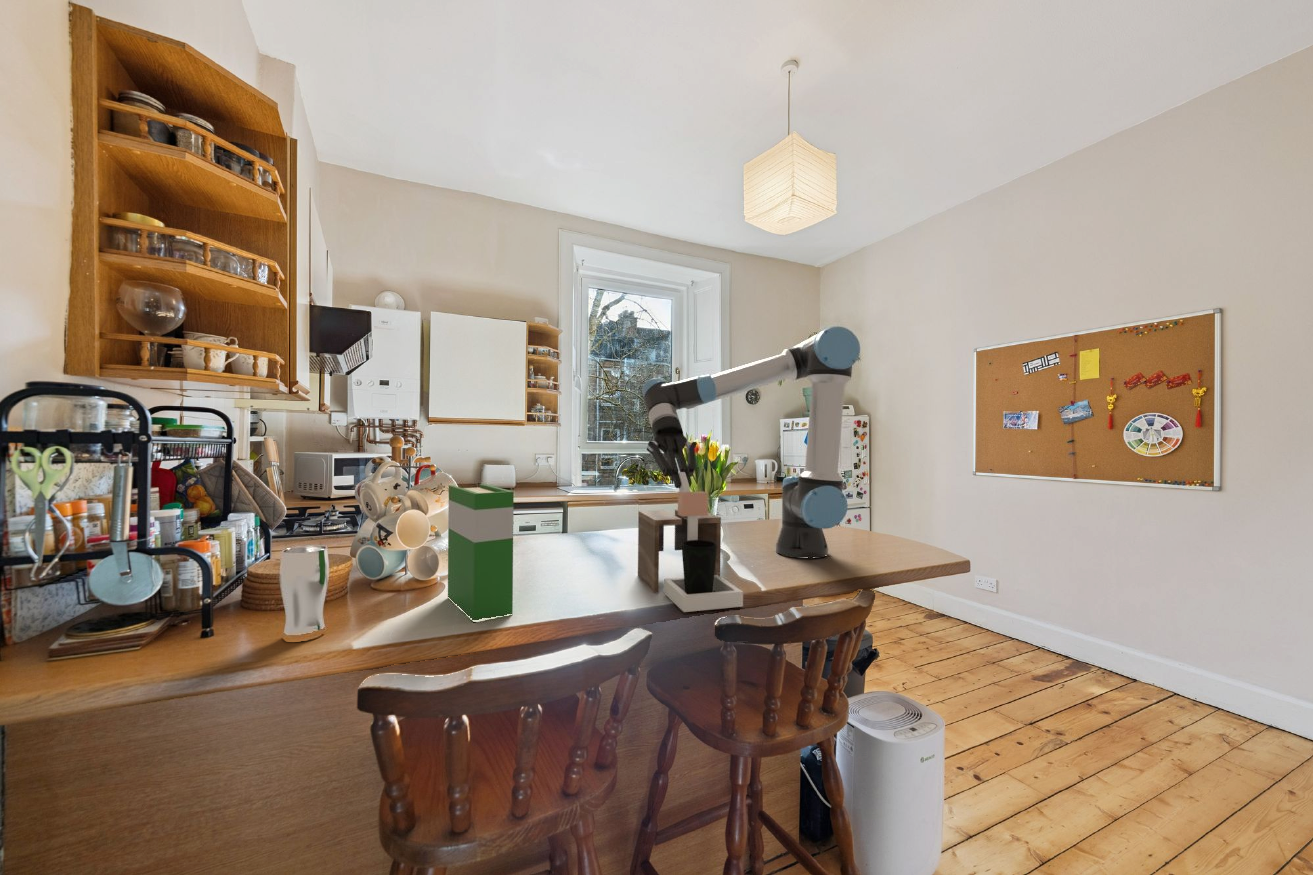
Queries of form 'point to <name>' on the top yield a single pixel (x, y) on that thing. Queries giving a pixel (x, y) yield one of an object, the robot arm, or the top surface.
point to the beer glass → (304, 587)
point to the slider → (726, 592)
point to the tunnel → (654, 540)
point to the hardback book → (481, 550)
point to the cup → (699, 565)
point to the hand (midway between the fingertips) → (687, 497)
